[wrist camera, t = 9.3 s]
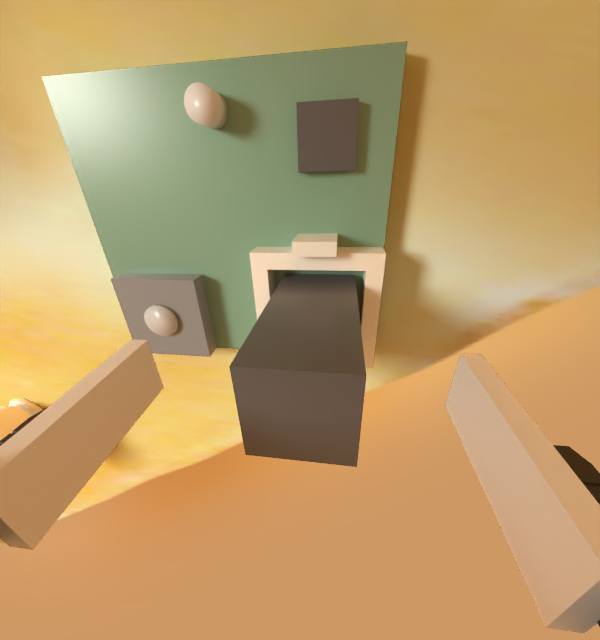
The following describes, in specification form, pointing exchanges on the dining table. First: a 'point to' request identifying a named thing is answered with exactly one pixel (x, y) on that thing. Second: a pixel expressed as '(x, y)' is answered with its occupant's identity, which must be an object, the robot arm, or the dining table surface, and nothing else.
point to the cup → (15, 415)
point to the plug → (303, 373)
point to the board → (234, 162)
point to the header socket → (324, 256)
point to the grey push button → (167, 312)
